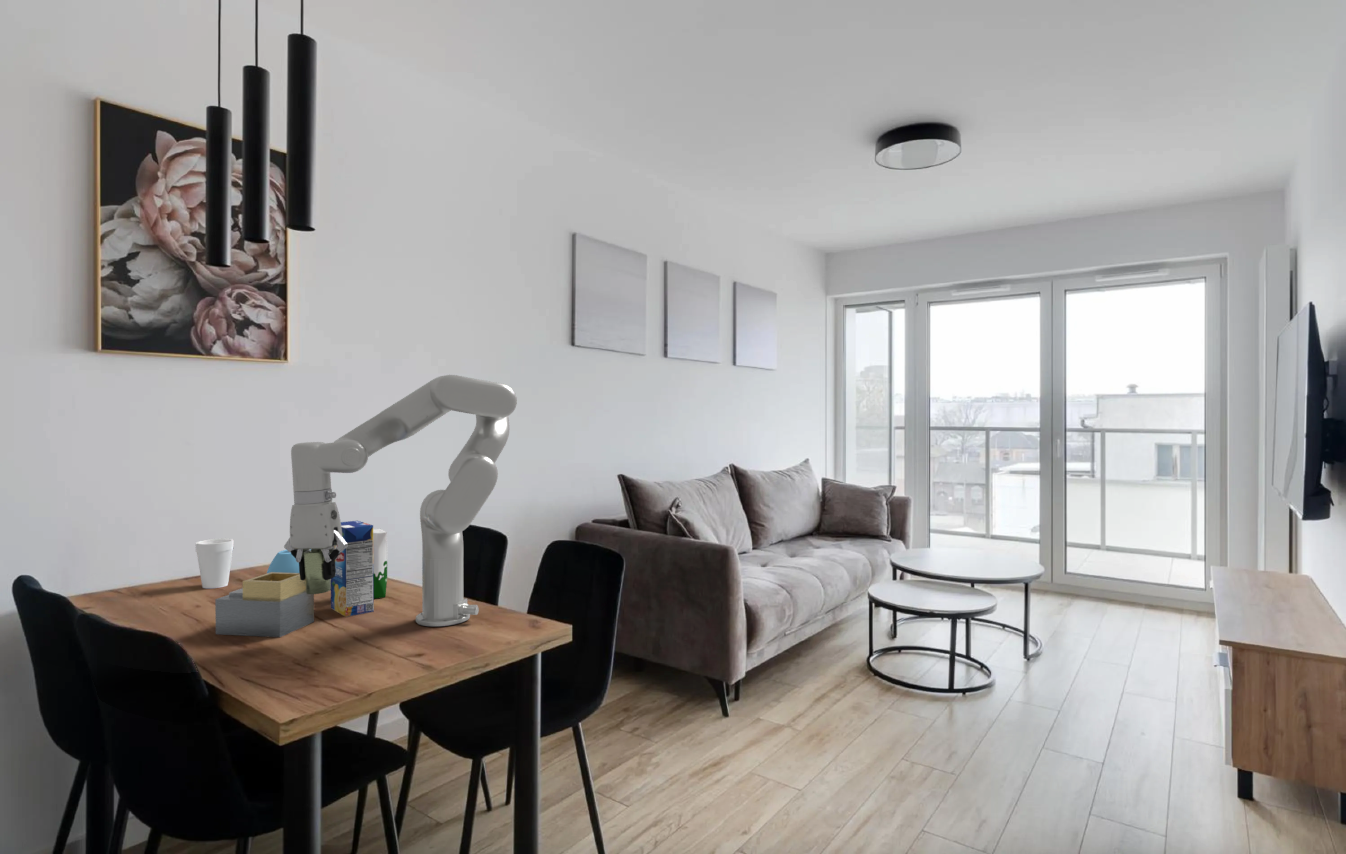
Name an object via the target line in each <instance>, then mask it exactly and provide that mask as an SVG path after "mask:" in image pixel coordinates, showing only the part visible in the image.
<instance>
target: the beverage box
mask: <svg viewBox="0 0 1346 854" xmlns="http://www.w3.org/2000/svg"><path fill="white" fill-rule="evenodd" d="M341 528H342V538H343V539H344V540H345V541H346V542H347V544H348V546H347V547H346V548H345V549H344V550H343V551H342V552H341V553H340V555H339V556H338V557H337V559H335V569H336V573H335V577H334V578H331V579H330V580H331V590H330V609H331V610H334V611H335V612H337V613H339V614H340V615H341V616H343V617H345V618H348V617H351V616H358V615H363V614H368V613H374V610H375V609H374V608H375V607H374V603H375V601H374V600H375V599H374V579H373V529H374V524H369V523H367V522H364V521H361V520H352V521H351V520H350V521H341ZM337 546H338V545H334V547H335V549H336V548H337Z"/></svg>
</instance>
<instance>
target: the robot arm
mask: <svg viewBox="0 0 1346 854" xmlns="http://www.w3.org/2000/svg"><path fill="white" fill-rule="evenodd" d="M517 401H518V397H517V396H516V392H515V391H514V390H513V389H512V388H511V386H509V385H507V384H504V383H501V382H497V381H490V380H489V381H488V380H484V379H477V378H472V377H467V376H462V375H457V374H446V375H445V374H444V375H440V376H437V377H435V378H433V379H432V380H430V381H428V382H426V383H425V384H423V385H422V386H420V387H419V388H417V389H415V390H414V391H412V392H411V393H409V394H408V395H406V396H404V397H402V398H401V399H399V400H398V401H397V402H394V403H393V404H392V405H390V406H388V407H386V408H385V409H383V410H382V411H380V412H379V413H378V414H376V415H375V416H372V418H369V419H367V420H366V421H365V422H363V423H361V424H359V425H357V426H356V427H355V428H353V429H352V430H350V431H348V432H347V433H345V434H344V435H342V436H340V437H339V438H338V439H336V440H334V441H333V442H326V443H325V442H322V441H310V442H308V441H307V442H299V443H295V444H293V445H292V447H291V449H290V456H291V457H290V458H291V469H292V473H291V474H292V486H293V487H292V490H293V505H292V506H291V511H290V517H289V538H288V540H287V541H286V542H285V544H284V546H283V547H284V550H287V551H289V552H291V554H292V555H293V556H294V557H295V558H296V562H298V563H299V574H300V580H305V567H304V552H306V551H309V550H310V549H322V552H323V555H324V558H325V561H326V562H324V563H323V573H324V580H329V579H330V580H331V578H334V577H335V573H336V569H335V559H337V557H338V556H339V555H340V553H341V552H342V551H343V550H344V549H345V548H346V547H347V546H348V544H347V542H346V541H345V540H344V539H343V538H342V528H341V522H342V521H341V517H340V513H339V509H338V506H337V503H336V501H335V502H334V501H333V499H336V497H337V493H336V492H335V491H333V490H332V481H331V480H332V479H331V473H334V474H335V473H339V474H341V473H342V474H351V473H352V474H353V473H356V472H359V471H360V470H362V469H363V468H364V467H365V466H366V465H367V463H368V461H369V457H371V456H373V455H374V454H375V453H377V452H379V451H380V450H382V449H384V448H385V447H387V446H389V445H391V444H394V443H397V442H400V441H403V440H406V439H409V438H410V437H412V436H414V435H416V434H417V433H419V432H420V431H422V430H423V429H425V428H426V427H427V426H429V425H431V424H432V423H434V422H435V421H437V420H438V419H440V418H442V417H443V416H445V415H446V414H448V413H449V412H450V411H451V412H452V411H453V412H459V413H464V414H470V415H475V426H474V429H473V431H472V433H471V435H470V436H469V438H468V440H467V441H466V442H465V444H464V446H463V447H462V448H461V450H460V451H459V453H458V454H457V456H456V457H455V458H454V460H453V461H452V462H451V464H450V466H449V469H448V480H449V481H450V482H449V484H448V485H447V487H446V488H445V489H437V490H434V491H432V492H430V493H429V494H427V495H426V496H425V498H424V499H423V501H421V502H422V503H421V505H420V510H419V519H420V529H421V545H422V550H421V551H422V554H421V555H422V556H421V560H422V562H421V564H422V565H421V566H422V568H421V569H422V570H421V571H422V572H421V575H422V576H421V577H422V578H421V580H422V581H421V582H422V583H421V584H422V586H421V587H422V590H421V591H422V592H421V593H422V598H421V599H422V607H421V608H422V609H421V610H422V612H420V613H418V614H417V615H416V616H415V623H417V625H420V626H422V627H423V626H424V627H447V626H453V625H458V624H462V623H464V622H466V621H468V620H470V617H471V615H475V616H477V615H478V614H479V612H480V611H479V610H480V609H479V606H478V604H469V603H468V598H464V536H463V531H465V530H466V529H467V528H469V527H470V525H471V524H472V522H473V521H474V520H475V518H476V517H477V515H478V514H479V512H480V510H481V509H482V508H483V506H484V505H485V503H486V502H487V500H488V498H489V497H490V495H491V494H492V492H493V490H494V489H495V487H496V484H497V480H498V477H499V476H498V475H499V473H498V467H497V465H496V461H497V460H498V459H499V457H500V456H501V454H502V451H503V450H504V448H505V446H506V445H507V442H508V439H509V436H510V418H509V416H510V415H511V414H513V413H514V411H515V410H516V407H517V405H518V402H517ZM334 545H338V546H337V548H336V549H335V547H334Z"/></svg>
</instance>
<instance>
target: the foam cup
mask: <svg viewBox="0 0 1346 854" xmlns="http://www.w3.org/2000/svg"><path fill="white" fill-rule="evenodd" d="M234 545H235V542H234V538H212V539H210V538H209V539H205V540H199V541H195V552H196V556H197V557H196V558H197V563H198V569H199V576H200V581H201V587H202V589H218V588H223V587H224V588H225V587H227V586H228V585H229V580H230V571H231V566H232V558H233V551H234V550H233V549H234Z"/></svg>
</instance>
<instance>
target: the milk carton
mask: <svg viewBox="0 0 1346 854" xmlns="http://www.w3.org/2000/svg"><path fill="white" fill-rule="evenodd" d="M387 533H388V532H387V531H385V530H384V529H382V528H373V579H374V600H375V599H382V598H386V597H387V596H386V595H387V585H388V584H387V583H388V535H387Z"/></svg>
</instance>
